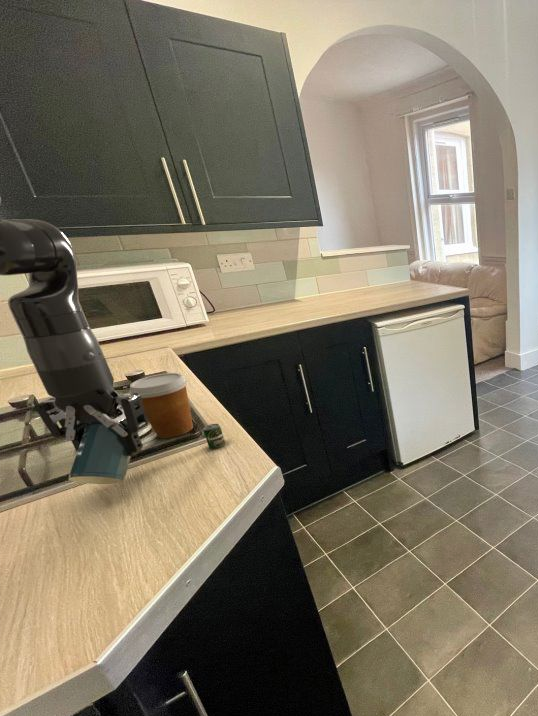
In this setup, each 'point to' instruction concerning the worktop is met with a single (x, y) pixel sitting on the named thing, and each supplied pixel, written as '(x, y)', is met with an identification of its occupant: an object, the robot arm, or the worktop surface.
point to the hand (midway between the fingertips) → (112, 454)
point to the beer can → (214, 436)
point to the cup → (100, 456)
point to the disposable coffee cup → (165, 403)
